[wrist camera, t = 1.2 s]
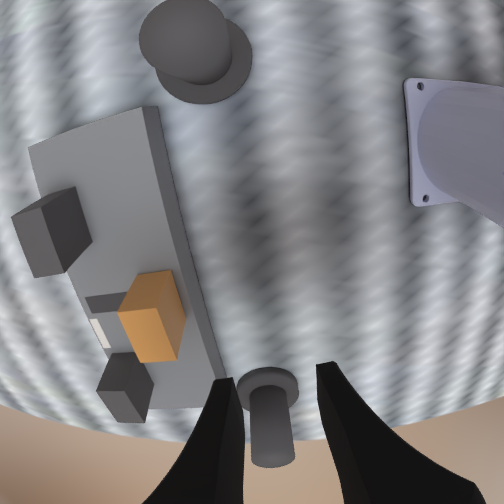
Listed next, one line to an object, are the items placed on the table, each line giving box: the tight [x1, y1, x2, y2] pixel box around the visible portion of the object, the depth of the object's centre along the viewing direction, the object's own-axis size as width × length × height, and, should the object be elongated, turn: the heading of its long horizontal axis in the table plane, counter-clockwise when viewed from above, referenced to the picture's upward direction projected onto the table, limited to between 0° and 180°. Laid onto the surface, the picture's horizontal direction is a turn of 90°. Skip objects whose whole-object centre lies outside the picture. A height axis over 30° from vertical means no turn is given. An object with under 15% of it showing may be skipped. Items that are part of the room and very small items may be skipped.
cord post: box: [237, 367, 299, 468], centre depth 22 cm, size 5×5×7 cm
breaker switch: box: [117, 270, 186, 363], centre depth 16 cm, size 2×3×4 cm, turn 9°
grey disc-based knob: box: [139, 0, 252, 104], centre depth 12 cm, size 5×5×7 cm
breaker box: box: [11, 106, 226, 423], centre depth 17 cm, size 7×20×6 cm, turn 9°
